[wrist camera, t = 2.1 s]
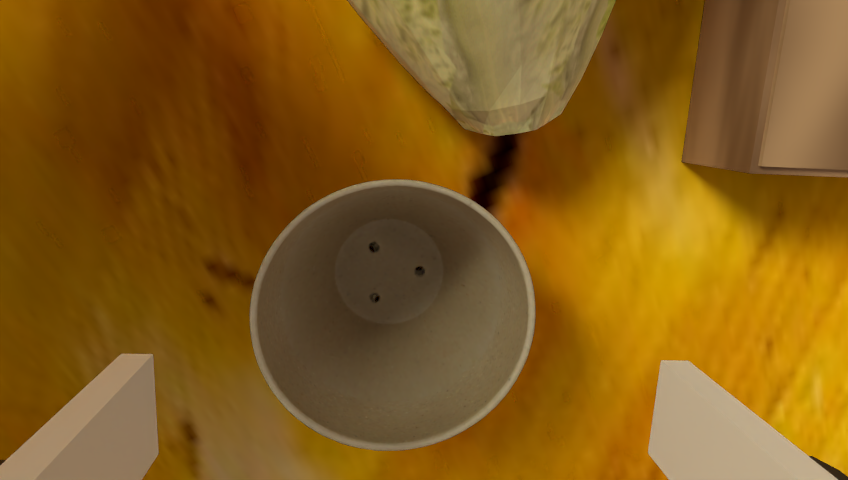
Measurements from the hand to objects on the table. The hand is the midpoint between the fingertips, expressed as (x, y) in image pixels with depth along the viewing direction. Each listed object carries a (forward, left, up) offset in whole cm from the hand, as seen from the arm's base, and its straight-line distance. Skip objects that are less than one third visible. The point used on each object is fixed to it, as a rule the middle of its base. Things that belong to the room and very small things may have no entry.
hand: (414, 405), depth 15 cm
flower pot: (0, 0, -13) cm, 13 cm away
